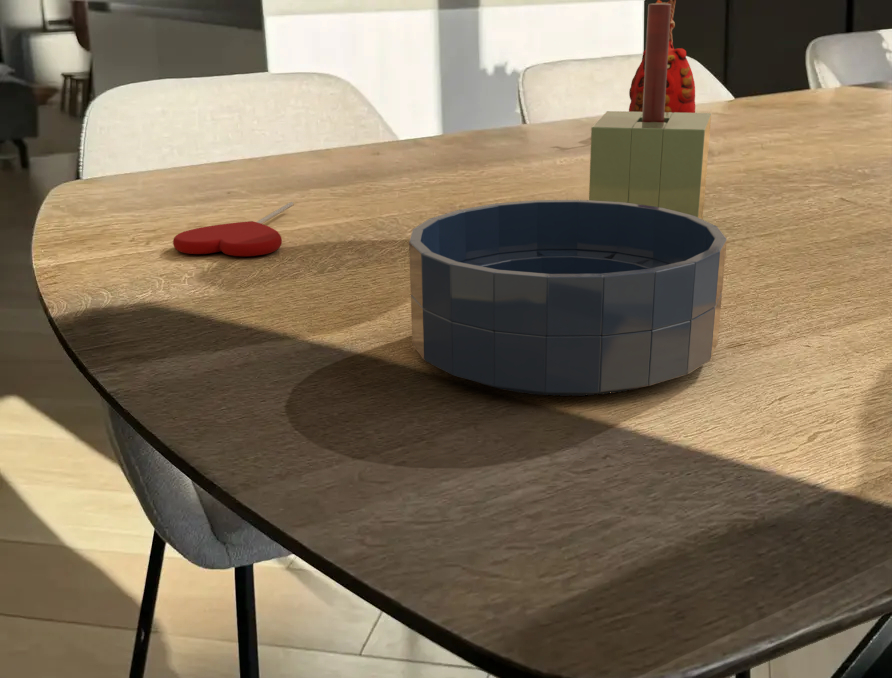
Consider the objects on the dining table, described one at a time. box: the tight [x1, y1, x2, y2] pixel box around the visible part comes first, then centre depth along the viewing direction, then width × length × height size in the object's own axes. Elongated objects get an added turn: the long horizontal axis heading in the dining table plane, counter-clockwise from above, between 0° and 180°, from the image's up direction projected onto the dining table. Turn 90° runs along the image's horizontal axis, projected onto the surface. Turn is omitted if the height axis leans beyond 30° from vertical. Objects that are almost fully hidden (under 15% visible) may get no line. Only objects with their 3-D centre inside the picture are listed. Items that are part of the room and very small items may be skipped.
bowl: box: [408, 199, 728, 397], centre depth 59 cm, size 16×16×6 cm
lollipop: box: [172, 201, 295, 257], centre depth 86 cm, size 8×1×15 cm
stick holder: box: [588, 110, 712, 220], centre depth 84 cm, size 8×8×8 cm
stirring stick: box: [642, 2, 671, 122], centre depth 83 cm, size 2×2×16 cm
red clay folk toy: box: [628, 0, 696, 113], centre depth 124 cm, size 8×7×15 cm
